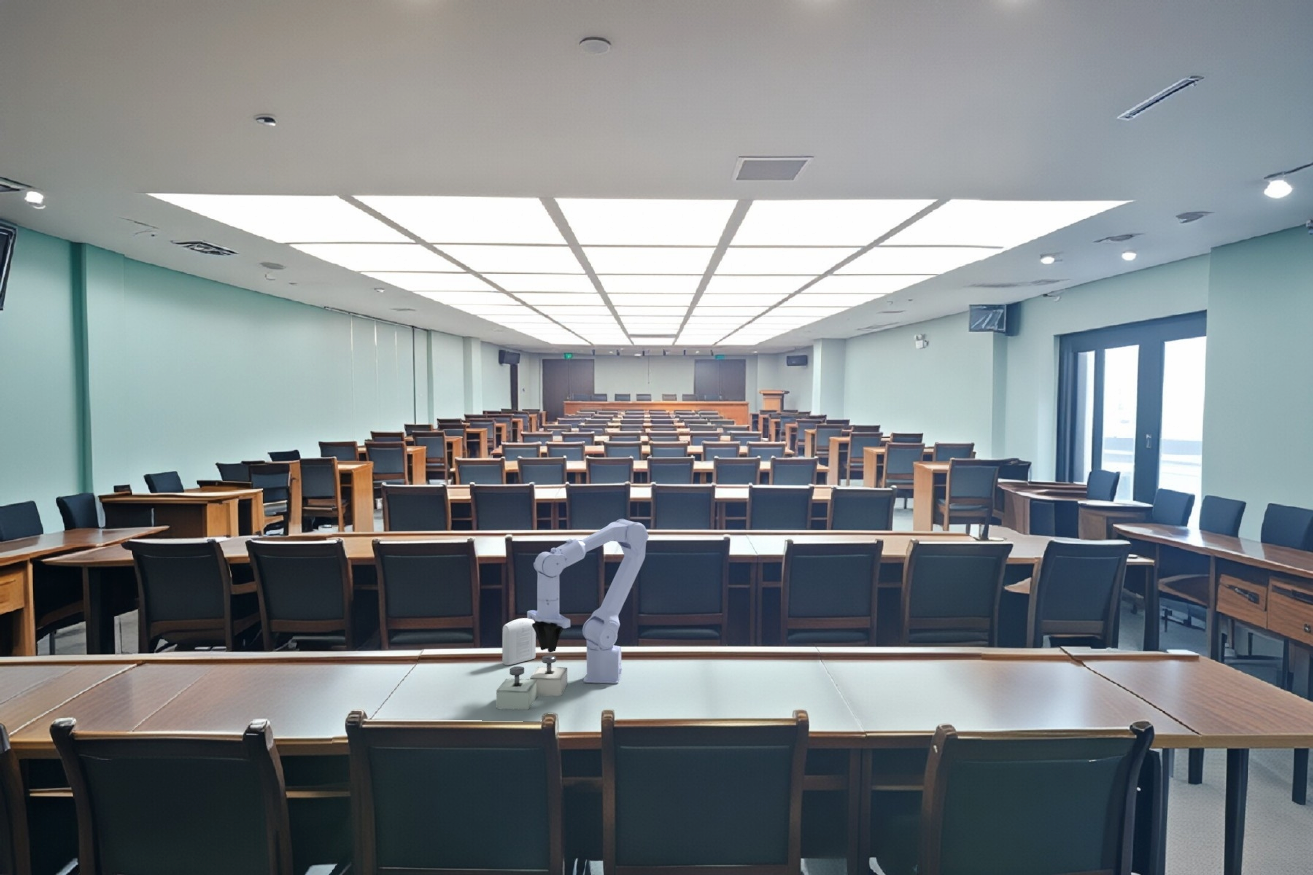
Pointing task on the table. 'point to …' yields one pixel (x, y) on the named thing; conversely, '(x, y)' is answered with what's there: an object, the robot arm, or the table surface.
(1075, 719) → the table surface
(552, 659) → the plunger
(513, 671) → the plunger
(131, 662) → the table surface
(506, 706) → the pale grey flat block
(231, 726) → the table surface
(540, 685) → the white square block
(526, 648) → the white rounded slab
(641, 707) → the table surface
